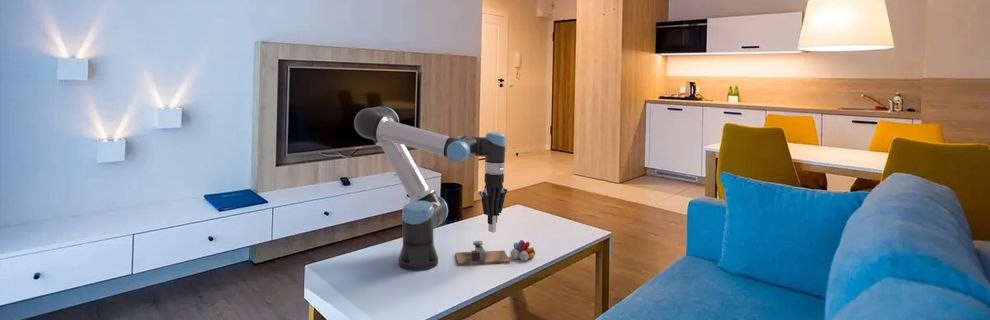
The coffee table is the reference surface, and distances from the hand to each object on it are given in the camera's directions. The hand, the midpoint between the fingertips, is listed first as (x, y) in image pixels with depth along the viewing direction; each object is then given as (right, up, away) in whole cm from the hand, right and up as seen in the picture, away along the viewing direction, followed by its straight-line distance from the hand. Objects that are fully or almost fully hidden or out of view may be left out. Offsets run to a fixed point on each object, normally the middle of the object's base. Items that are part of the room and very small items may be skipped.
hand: (491, 231), depth 210 cm
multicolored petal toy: (+12, -11, +3) cm, 17 cm away
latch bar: (-4, -10, 0) cm, 11 cm away
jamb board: (-4, -11, +1) cm, 12 cm away
